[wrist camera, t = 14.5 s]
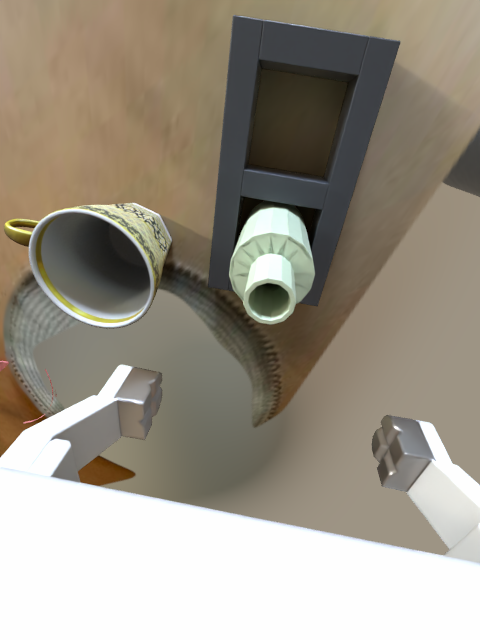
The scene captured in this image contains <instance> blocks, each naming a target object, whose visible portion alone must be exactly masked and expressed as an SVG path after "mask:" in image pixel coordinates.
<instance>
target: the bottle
mask: <svg viewBox="0 0 480 640" xmlns="http://www.w3.org/2000/svg"><path fill="white" fill-rule="evenodd" d="M314 276H315V270H314V263H313V257H312V253H311V249H310V244H309V240H308V236H307V232H306V227H305V223H304V219H303V217H302V215H301V213H300V211H299V210H298V209H297V208H296V207H295V206H294V205H290V204H285V203H279V202H273V201H267V200H266V201H263V202H261V203H260V204H258V205H257V206H256V207H254V208H253V209H252V211H251V212H250V214H249V215H248V217H247V219H246V221H245V224H244V226H243V229H242V232H241V234H240V237H239V240H238V242H237V245H236V248H235V250H234V253H233V256H232V258H231V263H230V271H229V277H230V280H231V283H232V287H233V290H234V291H235V292H236V293H237V295H238V296H239V297H240V298H241V300H242V301H243V305H244V307H245V309H246V311H247V314H248V315H249V316H250V317H252V318H253V319H254V320H256V321H257V322H259V323H264V324H270V325H272V324H276V323H279V322H283V321H285V320H286V319H287V318H288V317H289V316H290V315H291V314H292V313H293V312H294V308H295V304H297V303H299V302H300V301H302V299H303V298H304V297H305V296H306V294H307V293H308V292H309V291H310V289H311V287H312V283H313V280H314Z"/></svg>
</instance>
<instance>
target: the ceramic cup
mask: <svg viewBox="0 0 480 640" xmlns="http://www.w3.org/2000/svg"><path fill="white" fill-rule="evenodd" d="M15 227H30V228H34V230H33V232H29V231H25V230H21V229H18V228H15ZM4 231H5V234H6V235H7V236H8V237H9V238H10V239H12V240H13V241H15V242H16V243H18V244H21V245H24V246H28V247H29V260H30V264H31V268H32V271H33V274H34V276H35V278H36V280H37V282H38V284H39V286H40V287H41V289H42V290H43V292H44V293H45V294H46V295H47V297H48V298H49V299H50V300H51V301H52V302H53V303H54V304H55V305H56V306H57V307H58V308H59V309H61V310H62V311H63V312H65V313H66V314H68V315H69V316H71V317H73V318H74V319H76V320H78V321H80V322H83V323H85V324H88V325H91V326H95V327H100V328H120V327H125V326H128V325H131V324H133V323H135V322H136V321H138V320H139V319H140V318H142V317H143V316H144V315H145V314H146V313H147V311H148V310H149V308H150V306H151V304H152V302H153V300H154V297H155V295H156V292H157V289H158V286H159V283H160V279H161V275H162V270H163V266H164V263H165V260H166V257H167V254H168V251H169V248H170V245H171V242H172V239H171V237H170V234H169V232H168V230H167V228H166V226H165V224H164V222H163V220H162V218H161V216H160V215H159V214H157V213H155V212H153V211H151V210H149V209H147V208H144V207H142V206H140V205H138V204H136V203H127V204H114V205H88V206H78V207H72V208H66V209H61V210H58V211H55V212H53V213H51V214H49V215H47V216H46V217H44V218H43V219H42V220H41V221H40V222H39V221H34V220H27V219H13V220H9V221H7V222H6V223H5V226H4Z"/></svg>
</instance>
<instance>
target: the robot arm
mask: <svg viewBox="0 0 480 640" xmlns="http://www.w3.org/2000/svg"><path fill="white" fill-rule="evenodd" d="M161 382H162V373H160V372H156V371H151V370H146V369H142V368H137V367H131V366H126V365H120V366H118V367H117V369H116V370H115V371H114V373H113V374H112V376H111V377H110V379H109V380H108V381H107V383H106V385H105V386H104V387H103V389H102V390H101V391H100V393H99V394H98V396H94V395H93V396H91V397H89V398H87V399H85V400H84V401H81V402H79V403H77V404H75V405H73V406H71V407H69V408H67V409H65V410H63V411H62V412H60V413H58V414H56V415H54V416H52V417H50V418H48V419H46V420H44V421H42V422H40V423H38V424H36V425H34V426H32V427H30V428H28V429H26V430H24V431H23V432H22V433H21V435H20V436H19V437H18V438H17V439H16V440H15V442H14V443H13V444H12V445H11V446H10V447H9V448H8V450H7V451H6V452H5V453H4V454H3V455H2V457H1V458H0V640H480V485H479V484H478V483H477V482H476V481H474V480H473V479H472V478H471V477H470V476H469V475H468V474H467V473H465V472H464V471H463V470H462V469H461V468H460V467H459V466H458V465H454V464H452V462H451V460H450V458H449V456H448V454H447V452H446V450H445V448H444V446H443V444H442V442H441V440H440V438H439V436H438V434H437V432H436V430H435V428H434V426H433V425H432V424H431V423H429V422H424V421H418V420H412V419H407V418H401V417H395V416H389V415H386V416H385V417H384V418H383V419H382V421H381V424H382V427H381V428H379V429H377V430H376V431H375V433H374V436H373V439H372V451H373V455H374V457H375V458H376V459H377V461H378V462H379V463H380V464H379V466H378V467H377V470H378V474H379V477H380V481H381V484H382V487H387V488H391V489H396V490H400V491H405V492H407V494H408V496H409V497H410V498H411V500H412V501H413V502H414V504H415V505H416V506H417V507H418V508H419V510H420V511H421V513H422V514H423V515H424V517H425V518H426V519H427V521H428V522H429V523H430V525H431V526H432V527H433V529H434V530H435V531H436V532H437V534H438V535H439V536H440V538H441V539H442V540H443V542H444V543H445V544H446V546H447V547H448V548H449V551H448V552H447V553H446V554H445V555H438V554H433V553H428V552H423V551H418V550H413V549H408V548H403V547H398V546H393V545H388V544H383V543H378V542H373V541H368V540H363V539H358V538H353V537H348V536H343V535H338V534H333V533H328V532H323V531H318V530H313V529H308V528H303V527H298V526H293V525H288V524H283V523H278V522H273V521H268V520H264V519H258V518H254V517H248V516H244V515H239V514H234V513H229V512H224V511H218V510H214V509H209V508H204V507H199V506H194V505H189V504H184V503H179V502H174V501H169V500H164V499H159V498H154V497H149V496H144V495H139V494H134V493H129V492H124V491H119V490H114V489H109V488H104V487H99V486H95V485H90V484H85V483H80V479H79V475H78V471H79V470H80V469H81V468H83V467H84V466H85V465H86V464H88V463H89V462H90V461H91V460H93V459H94V458H95V457H97V456H98V455H99V454H100V453H101V452H103V451H104V450H105V449H107V448H108V447H109V446H111V445H112V444H113V443H114V442H116V441H117V440H118V439H119V438H121V436H124V437H130V438H136V439H142V440H145V438H146V436H147V434H148V432H149V430H150V427H151V425H152V417H153V416H155V415H156V414H157V412H158V409H159V406H160V402H161V398H162V389H161V387H160V384H161Z"/></svg>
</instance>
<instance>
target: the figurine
mask: <svg viewBox="0 0 480 640" xmlns="http://www.w3.org/2000/svg"><path fill="white" fill-rule="evenodd" d="M8 364H9V362H6V361H0V371H1V370H2V369H4V368H5V367H6V366H7V365H8ZM45 371H46V370H45ZM46 373H47V371H46ZM47 375H48V373H47ZM48 377H49V375H48ZM49 379H50V378H49ZM50 383H51V380H50ZM51 385H52V383H51ZM52 389H53V387H52ZM52 391H53V390H52ZM52 393H53V392H52ZM52 400H53V397H52ZM51 404H52V403H51ZM41 417H42V416H41ZM38 419H39V418H38ZM36 420H37V419H36ZM33 421H34V420H33ZM29 422H32V421H29ZM24 423H27V422H24Z"/></svg>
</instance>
